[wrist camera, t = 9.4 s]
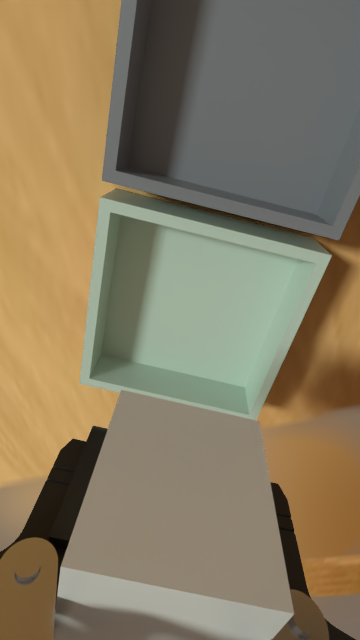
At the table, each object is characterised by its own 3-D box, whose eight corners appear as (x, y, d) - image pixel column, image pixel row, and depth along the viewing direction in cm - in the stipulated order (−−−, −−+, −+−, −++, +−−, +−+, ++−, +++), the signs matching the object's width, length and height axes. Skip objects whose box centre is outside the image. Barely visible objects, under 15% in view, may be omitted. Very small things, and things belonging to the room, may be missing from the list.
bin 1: (438, -57, 14) (500, -110, 11) (318, 225, 20) (339, 240, 17) (159, -140, 14) (145, -219, 11) (118, 174, 20) (101, 180, 17)
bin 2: (313, 238, 21) (331, 255, 18) (249, 389, 26) (254, 423, 23) (116, 188, 20) (99, 197, 17) (94, 354, 26) (79, 383, 23)
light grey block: (259, 420, 11) (294, 613, 6) (219, 504, 13) (225, 692, 9) (121, 389, 11) (60, 566, 6) (104, 479, 13) (49, 658, 8)
